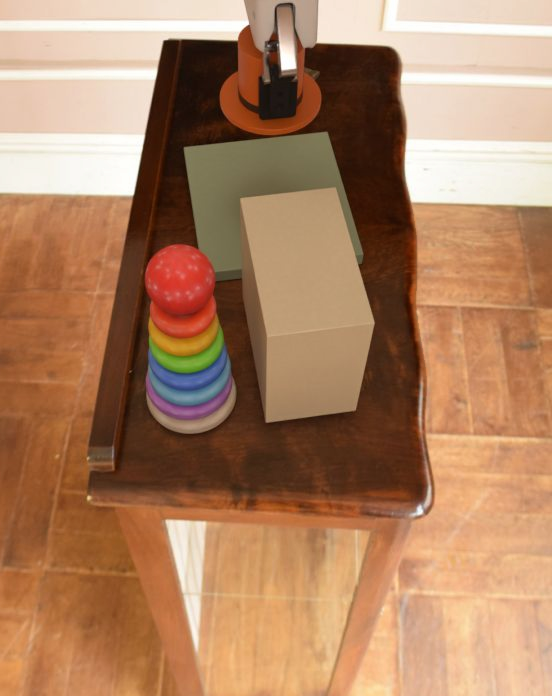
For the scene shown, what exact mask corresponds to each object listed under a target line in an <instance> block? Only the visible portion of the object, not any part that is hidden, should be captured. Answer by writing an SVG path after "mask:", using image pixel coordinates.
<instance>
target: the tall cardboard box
mask: <svg viewBox="0 0 552 696" xmlns="http://www.w3.org/2000/svg"><path fill="white" fill-rule="evenodd" d="M240 218H241V253H242V278H241V285H242V300H243V305H244V312H245V316H246V317H245V318H246V322H247V328H248V334H249V340H250V344H251V350H252V355H253V362H254V366H255V372H256V377H257V385H258V388H259V395H260V400H261V406H262V410H263V416H264V422H265V423H267V424H268V423H275V422H281V421H283V422H284V421H290V420H298V419H305V418H311V417H312V418H313V417H319V416H326V415H327V416H328V415H335V414H341V413H347V412H356V411H357V407H358V402H359V398H360V393H361V389H362V383H363V379H364V375H365V370H366V365H367V361H368V355H369V351H370V346H371V343H372V342H371V341H372V337H373V333H374V328H375V324H376V322H375V319H374V315H373V312H372V308H371V304H370V301H369V297H368V295H367V290H366V288H365V287H366V286H365V284H364V280H363V277H362V273H361V270H360V267H359V264H358V263H357V259H356V256H355V252H354V249H353V245H352V242H351V238H350V235H349V231H348V228H347V224H346V221H345V217H344V214H343V211H342V207H341V204H340V200H339V197H338V193H337V190H336V187H333V188H324V189H316V190H307V191H298V192H289V193H281V194H272V195H263V196H254V197H246V198H240Z"/></svg>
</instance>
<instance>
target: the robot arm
mask: <svg viewBox="0 0 552 696" xmlns="http://www.w3.org/2000/svg"><path fill="white" fill-rule="evenodd" d="M243 3H244V8H245V12H246V16H247V20H248V25H250V29H251V33H252V37H253V40H254V44H255V46H256V48H257V49H258V50H260V51H261V57H262V76H260V77H259V91H258V114H259V118H260V119H261V120H269V119H279V118H289V117H294V116H295V115H296V108H297V91H298V54H297V34H298V36H299V39H300V41H301V44H302V46H303V48H305V49H313V48H314V47H315V46H316V44H317V42H318V30H319V29H318V28H319V27H318V26H319V0H243ZM272 34H276V40H269V39H270V37H271V35H272ZM276 51H277V52H278V61H277V64H272V66H271V67H270V52H276Z"/></svg>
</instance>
